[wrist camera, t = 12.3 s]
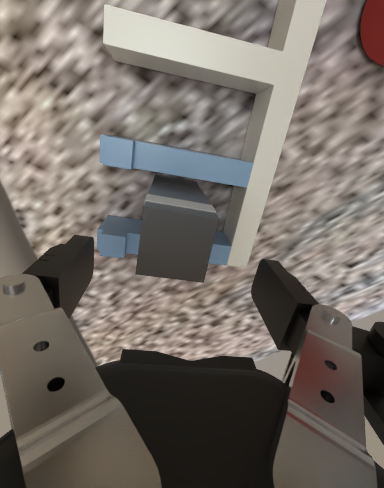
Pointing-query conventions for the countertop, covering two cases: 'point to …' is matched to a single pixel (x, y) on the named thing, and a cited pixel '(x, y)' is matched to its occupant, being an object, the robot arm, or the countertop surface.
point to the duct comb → (224, 74)
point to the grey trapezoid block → (176, 231)
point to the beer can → (373, 30)
